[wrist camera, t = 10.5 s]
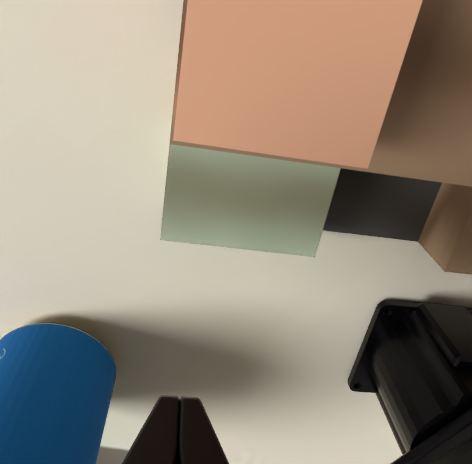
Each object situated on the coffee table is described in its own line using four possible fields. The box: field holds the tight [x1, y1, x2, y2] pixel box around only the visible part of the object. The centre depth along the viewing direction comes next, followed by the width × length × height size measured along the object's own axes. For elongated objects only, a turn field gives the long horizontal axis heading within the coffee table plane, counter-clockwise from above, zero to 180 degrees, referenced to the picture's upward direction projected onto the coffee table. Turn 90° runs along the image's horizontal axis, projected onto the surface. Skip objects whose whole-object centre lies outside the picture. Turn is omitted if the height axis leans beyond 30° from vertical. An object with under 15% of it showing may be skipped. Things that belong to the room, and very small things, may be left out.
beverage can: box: [0, 323, 116, 464], centre depth 19 cm, size 6×6×12 cm
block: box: [173, 0, 423, 169], centre depth 13 cm, size 6×6×3 cm
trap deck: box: [160, 0, 472, 274], centre depth 16 cm, size 16×19×3 cm
